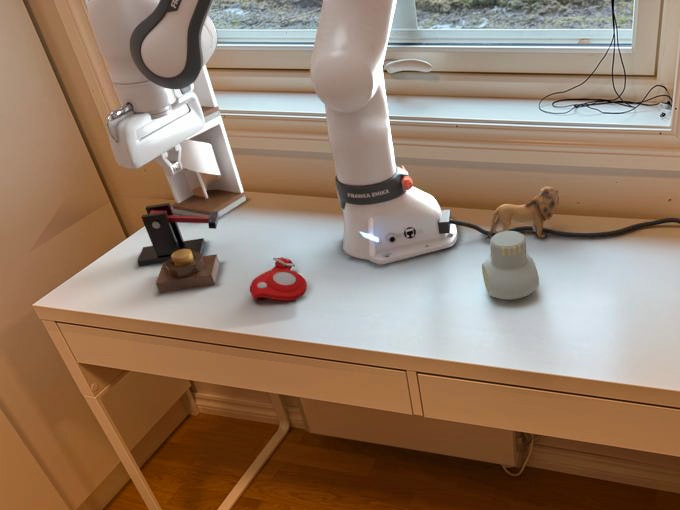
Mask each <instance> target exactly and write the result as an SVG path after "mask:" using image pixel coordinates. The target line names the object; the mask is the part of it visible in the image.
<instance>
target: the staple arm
mask: <svg viewBox="0 0 680 510" xmlns="http://www.w3.org/2000/svg"><path fill="white" fill-rule="evenodd" d="M161 212H166V213H167V211H163V210H151V212H150V214H154V213H161ZM167 216H168V219H169V221H170V222H177V223H180V224H181V223H184V224H185V223H187V224H207V225H208V229H213V230H216V229H217V227H218V223H219V219H220V217H219V214H218V212H215V211H211V214H210V216H185V215H178V214H174V215H167Z"/></svg>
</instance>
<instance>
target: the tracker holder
mask: <svg viewBox="0 0 680 510" xmlns="http://www.w3.org/2000/svg"><path fill="white" fill-rule="evenodd" d="M272 259H273V261H275V262H274V267H272V268H271V269H270V270H267V271H264V272H263V273H261V274H259V275H258V276H256V277H255V278H254V279H252V281H251V283H250V285H249V294H250V295H251V297H252V298H253V300H259V299H261V298H267V299H272V300H276V301H287V302H288V301H295V300H297V299H300V298H301V297H303V296H304V295H305V293H306V292H307V286H308V283H307V281H306V278H305V277H304V276H303V275H301V274H300V273H299V272H297V271H295V270H293V269H292V267H296V264H295V263H294V262H293V261H292V260H291V259H290V258H289V257H282V256H281V257H273V258H272Z"/></svg>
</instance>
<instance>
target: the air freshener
mask: <svg viewBox="0 0 680 510" xmlns="http://www.w3.org/2000/svg"><path fill="white" fill-rule="evenodd" d="M502 231H503V230H502ZM489 245H490V257H488V258H487V259H486V260H485V261H484V262H483V263H482V264H481V271H482V277H483V282H484V286H485V288H486V291H487V294H488V295H489V296H491V297H493V298H496V299H500V300H506V301H507V300H508V301H510V300H518V299H522V298H524V297H527V296H529V295H531V294H532V293H534V292H535V291H536V290H537V289H538V287H539V285H540V278H539V273H538V270H537V269H538V268H537V265H536V263H535V261H534V259H533V257H532V256H530V255H529V254H527V238H526V236H525V235H524V234H523V233H521V232H520V231H518V232H516V231H503V232H499V233H497V234H495V235H494V236H491V237H490V240H489Z"/></svg>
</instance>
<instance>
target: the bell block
mask: <svg viewBox="0 0 680 510" xmlns="http://www.w3.org/2000/svg"><path fill="white" fill-rule="evenodd" d="M191 252H192V254H193V257H194V261H192V262H191V263H189V264H186V265H182V266H175V265H174V262H173V260H172V257H171V258H169V259H168V260H167V261H166V262H163V263H162V265H161V267H160V270H159V273H158V276H157V279H156V281H155V286H156V288H157V290H158V293H159V294H165V293H166V294H167V293H172V292H178V291H184V290H185V291H186V290H191V289H192V290H193V289H197V288H205V287H209V286H215V285H216V284H217V280H218V279H217V278H218V274H219V271H220V266H221V263H220V260H219V257H218V254H216V253H215V254H209V255H203V254H202V255H201V254H200V253H199V252H194V251H191Z"/></svg>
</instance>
